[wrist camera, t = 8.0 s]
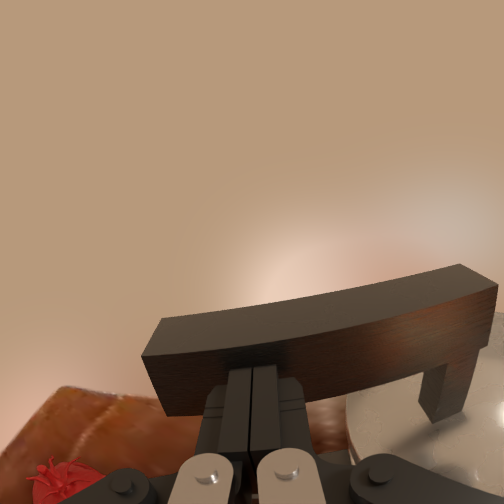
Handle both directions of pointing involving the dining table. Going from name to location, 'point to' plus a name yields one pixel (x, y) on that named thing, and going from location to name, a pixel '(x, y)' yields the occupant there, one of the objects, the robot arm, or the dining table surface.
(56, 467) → the pomegranate
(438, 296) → the cooker lid
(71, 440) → the dining table surface
